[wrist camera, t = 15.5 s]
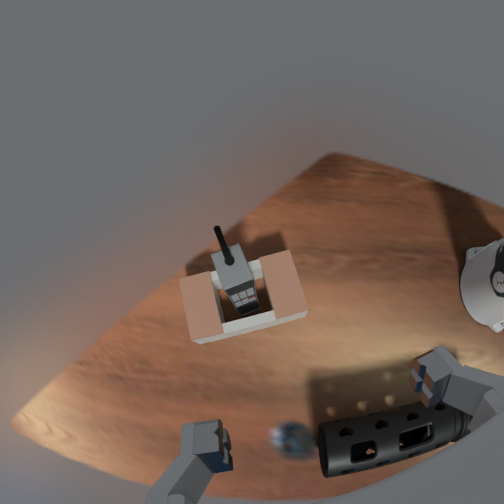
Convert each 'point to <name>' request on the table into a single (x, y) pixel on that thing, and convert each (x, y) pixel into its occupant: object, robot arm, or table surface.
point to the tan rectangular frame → (214, 327)
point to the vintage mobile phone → (235, 276)
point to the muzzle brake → (388, 436)
